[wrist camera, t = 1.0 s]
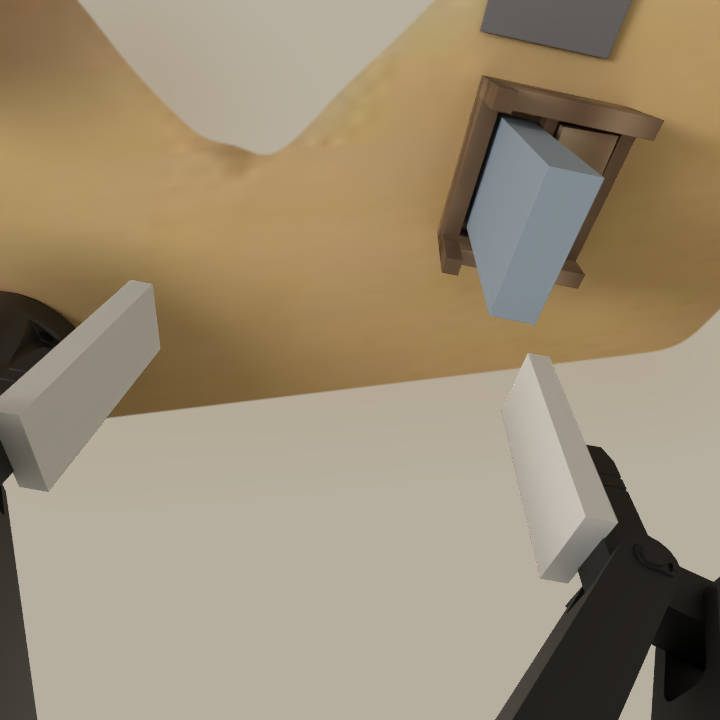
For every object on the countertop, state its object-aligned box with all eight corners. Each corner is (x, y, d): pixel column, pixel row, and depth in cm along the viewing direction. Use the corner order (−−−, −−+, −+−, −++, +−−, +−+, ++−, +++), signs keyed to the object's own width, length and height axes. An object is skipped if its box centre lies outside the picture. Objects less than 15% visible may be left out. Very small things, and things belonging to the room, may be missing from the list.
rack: (437, 232, 41) (441, 272, 34) (482, 75, 34) (498, 87, 27) (558, 257, 41) (586, 302, 34) (628, 107, 34) (680, 126, 27)
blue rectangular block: (464, 218, 39) (489, 315, 26) (497, 112, 34) (549, 166, 21) (494, 225, 39) (534, 324, 26) (532, 120, 34) (604, 177, 21)
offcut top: (519, 231, 37) (522, 238, 36) (558, 123, 33) (563, 126, 31) (565, 240, 37) (570, 247, 36) (611, 132, 33) (618, 136, 31)
